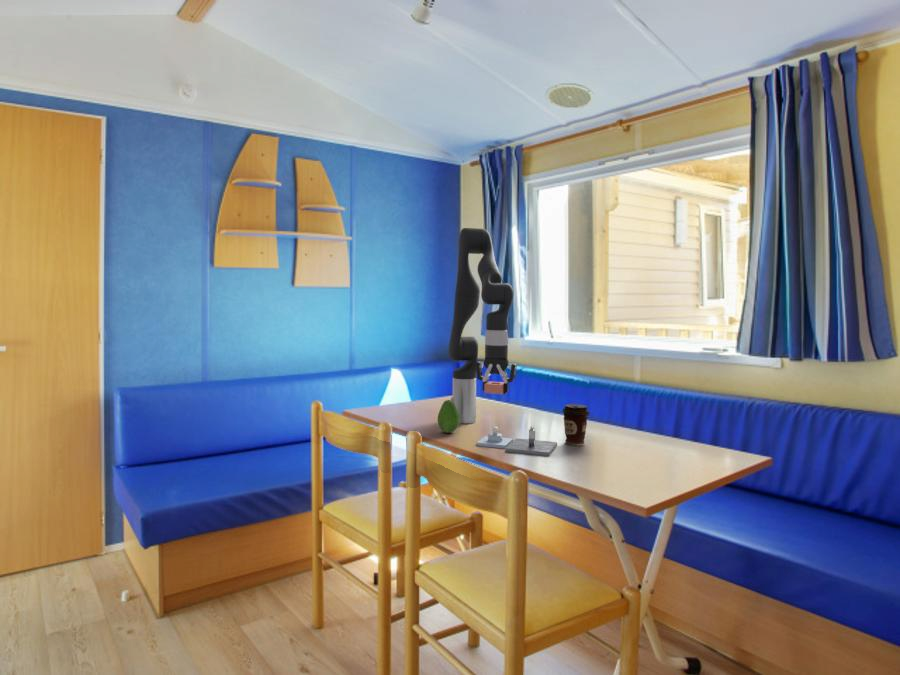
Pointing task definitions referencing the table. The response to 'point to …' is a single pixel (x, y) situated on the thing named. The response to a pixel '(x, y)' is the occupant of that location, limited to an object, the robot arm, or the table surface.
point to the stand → (494, 440)
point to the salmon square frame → (494, 387)
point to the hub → (531, 445)
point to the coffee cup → (575, 423)
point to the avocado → (448, 417)
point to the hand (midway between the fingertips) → (495, 393)
